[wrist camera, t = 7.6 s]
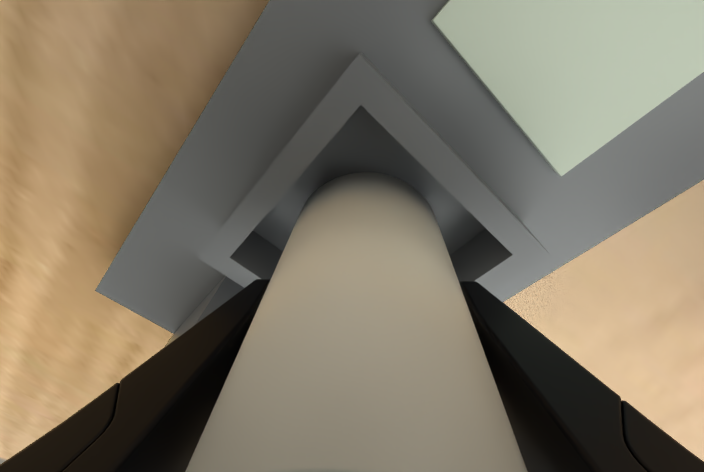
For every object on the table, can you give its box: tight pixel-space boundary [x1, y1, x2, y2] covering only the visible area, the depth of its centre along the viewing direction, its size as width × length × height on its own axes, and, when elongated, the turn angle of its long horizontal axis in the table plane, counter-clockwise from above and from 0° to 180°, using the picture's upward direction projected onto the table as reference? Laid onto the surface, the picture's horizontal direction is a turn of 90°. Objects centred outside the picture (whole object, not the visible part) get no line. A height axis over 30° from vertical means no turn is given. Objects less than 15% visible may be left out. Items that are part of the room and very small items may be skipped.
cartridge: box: [185, 172, 527, 472], centre depth 6 cm, size 4×4×8 cm
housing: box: [95, 0, 704, 347], centre depth 10 cm, size 21×12×5 cm, turn 138°
